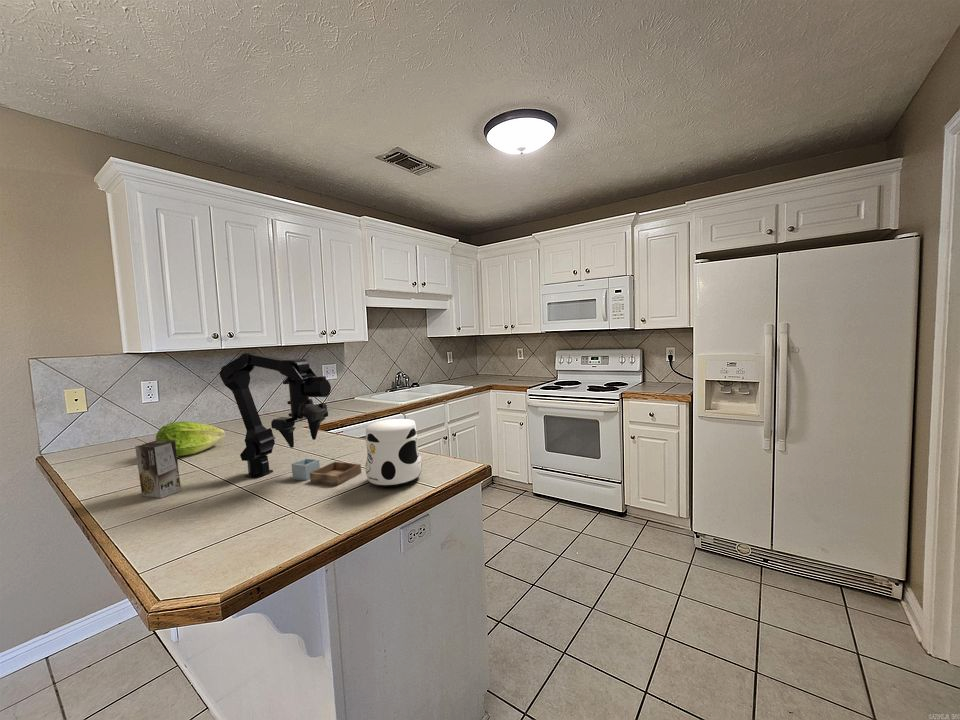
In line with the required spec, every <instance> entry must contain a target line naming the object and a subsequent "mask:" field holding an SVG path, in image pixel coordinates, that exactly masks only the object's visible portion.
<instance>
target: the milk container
mask: <svg viewBox="0 0 960 720" xmlns="http://www.w3.org/2000/svg"><path fill="white" fill-rule="evenodd" d="M365 428H366V429H365V440H366V441H365V443H366V450H367V451H366V453H367V455H366V461H365V469H364V470H365V475H366V478H367V481H368V482H369V483H370V484H372V485H374V486H377V487H384V488H386V487H387V488H390V487H399V486H404V485H406V484H410V483H412V482H413V481H415V480H416V479H418V478H419V477H420V475H421V474H422V467H423V461H422V457H421V454H420V451H419V447H418V445H419V444H418V434H417V425H416V421H415V420H413V419H410V418H392V419H391V418H390V419H383V420H379V421H374V422H371V423H369V424H368V425H366V427H365Z"/></svg>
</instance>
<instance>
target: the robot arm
mask: <svg viewBox="0 0 960 720" xmlns="http://www.w3.org/2000/svg"><path fill="white" fill-rule="evenodd" d="M255 367H259V368H263V369H267V370H273V371H277V372H279V373H280V374H281V375H282V376H285V377H286V378H285V379H284V380H283V381H282V385H288V390H289V391H288V393H289V400H288V401H286V402H287V405H289V406H290V412H289V413H288V417H287V416H281V417H277V418H273V419H272V420H271V424H270V425H271V428H270V427H269V428H266V427H265V426H264V425H263V423H262V421H261V417H260V415H259V412H258V409H257V406H256V404H255V401H254V398H253V395H252V393H251V390H250V383H251V373H252V371H254V370H255ZM219 376H220V379H221V380H222V383H223V384H224V386H225V387H226V388H228V389H229V390H230V391H231V392H232V395H233V397H234V401H235V403H236V405H237V408H238V411H239V413H240V417H241V418H242V422H243V424H244V428H245V430H246V434H245V436H244V437H245V439H244V443H245V448H244V449H243V450H242V452H240V454H239V456H240V458H241V461H243V462H246V463H247V470H248V473H245V474H244V477H248V478H253V479H258V478H262V477H263V476H266V475H268V474H271V473H272V472H274V470H273V469H270V463H269V456H268V455H271V454H272V453H273V448H274V445H275V444H276V442H275V440H276V436H274V434H273V431H272V430H273V429H275V431H278V432H279V433H280V434H281V435H282V437H283V438H284V440H285V441H286V443H287V445H288V446H289V447H290V448H291V449H293V448H294V447H295V446H294V445H295V441H294V439H295V438H294V431H295V429H296V427H295V425H296V423H298V422H302V421H305V420H307V424H308V425H307V426H308V429H309V433H310V436H311V438H312V440H314V441H316V439H317V435H318V432H319V429H320V426H321V423H322V422H323V421H325V420H326V417H329V411H328V406H327V403H325V402H320V403H318V404H314V401H313V399H312V398H327V397H329V395H330V394H331V392H332V391H331V390H332V385H331V383H330V381H329V380H327V376H326V375H320V376H318V375H317V373H316V372H315V371H314V370H313V368H312V367H311V366H310V364H309V362H308V360H307V359H304V358H281V357H275V356H271V355H268V354H261V353H258V352H255V351H254V352H253V351H251V352H244V353H243V354H240V356H238V357H237V358H235V359H234V360H232V361H231V362H230V361H229V362H228V363H227V364H226V365H223V366H222V367H221V369H220V371H219Z"/></svg>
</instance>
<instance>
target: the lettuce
mask: <svg viewBox="0 0 960 720" xmlns="http://www.w3.org/2000/svg"><path fill="white" fill-rule="evenodd" d="M225 438H226V432H225V430H224V429H222V428H220V427H218V426H215V425H211V424H208V423H202V422H196V421H174V422H169V423H167V424H165V425H163V426H162V427H161V428H160V429H158V431H157V433H156V435H155V441H175V445H176V453H177V458H178V457H183V456H184V457H185V456H192V455H196V454H198V453H201V452H204V451H206V450H207V449H209V448H211V447H213V446H215V445H217V444H218V443H221V441H223V440H225Z"/></svg>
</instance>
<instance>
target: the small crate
mask: <svg viewBox="0 0 960 720" xmlns="http://www.w3.org/2000/svg"><path fill="white" fill-rule="evenodd" d="M320 468H321V466H320V459H316V458H307V457H306V458H304V459H303V458H302V459H301V460H298V461H296V462H294V463H291V471H292V479H293V480H300V481H309V480H310V473H311V472H313V471H315V470H317V469H320Z"/></svg>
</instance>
